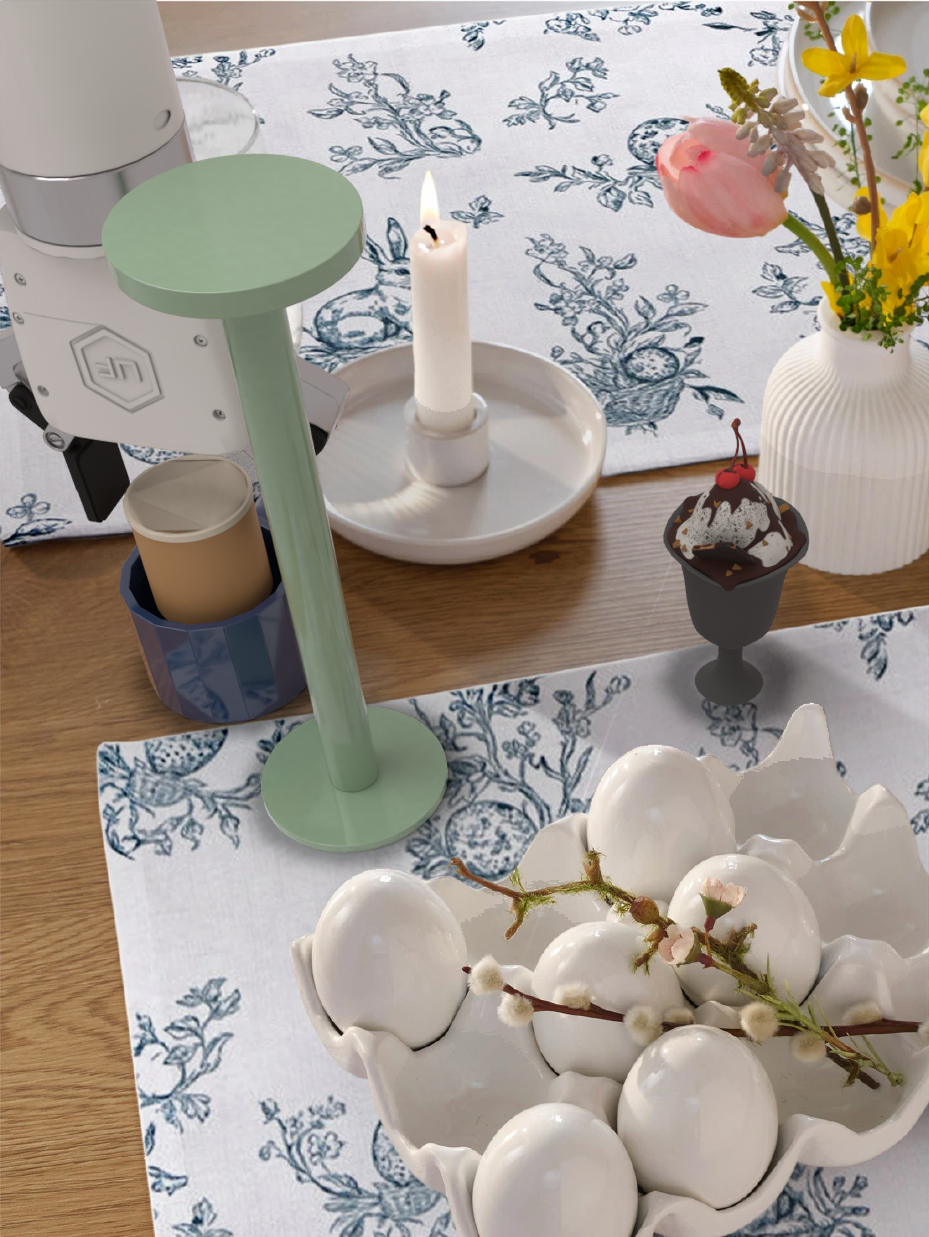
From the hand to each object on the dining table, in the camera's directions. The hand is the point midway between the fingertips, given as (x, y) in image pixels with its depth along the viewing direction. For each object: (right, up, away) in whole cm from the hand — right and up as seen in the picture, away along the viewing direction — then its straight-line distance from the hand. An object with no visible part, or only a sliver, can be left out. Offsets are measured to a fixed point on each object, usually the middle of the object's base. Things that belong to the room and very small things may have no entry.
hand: (202, 518), depth 76 cm
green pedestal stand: (+7, -13, +3) cm, 15 cm away
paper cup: (0, -6, +8) cm, 10 cm away
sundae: (+25, -8, +6) cm, 27 cm away
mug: (0, -5, +9) cm, 10 cm away
